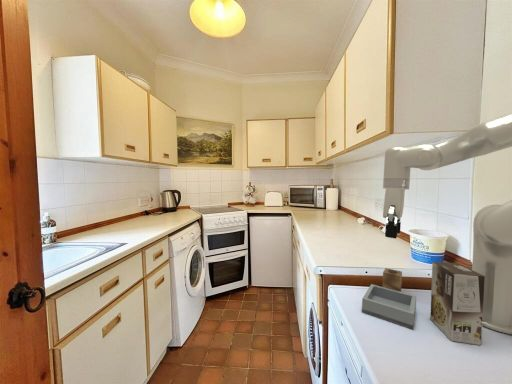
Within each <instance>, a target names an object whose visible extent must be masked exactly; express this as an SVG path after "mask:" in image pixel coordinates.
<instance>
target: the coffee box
mask: <svg viewBox="0 0 512 384" xmlns="http://www.w3.org/2000/svg"><path fill="white" fill-rule="evenodd" d="M431 263H432V267H431V271H432V272H431V290H430V291H431V293H430V294H431V295H430V297H431V298H430V318H429V319H430V321H432V323H433V324H434V325H435V326H436V327H437V328H438V329H440V330H439V331H440V332H442V333H443V334H444V335H445V336H446V337H447V338H448V339H449V340H450V341H451V342H458V343H464V344H471V345H477V346H481V345H482V335H483V333H482V331H483V326H482V316H483V300H484V282H485V276H483V275H481V274H479V273H477V272H475V271H473V270H472V268H469V267H467V266H465V265H462V264H460V263H455V262H439V261H438V262H437V261H432V262H431Z"/></svg>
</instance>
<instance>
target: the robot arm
mask: <svg viewBox="0 0 512 384" xmlns="http://www.w3.org/2000/svg"><path fill="white" fill-rule="evenodd" d="M509 148H512V112H509V113H507V114H504V115H500V116H498V117H495V118H493V119H492V118H491V119H489V120H486V121H484V122H481V123H479V124H477V125H476V126H473V127H472V128H470V129H469V130H468V131H466V132H464V133H463V134H460V135H458V136H456V137H455V138H452V139H449V140H447V141H445V142H442V143H438V144H435V145H434V144H431V143H423V144H418V145H413V146H412V145H411V146H394V147H389V148H387V149H386V150H385V152H384V164H383V165H384V166H383V180H382V181H383V182H382V183H383V184H382V189H385V191H384V192H385V193H384V200H383V208H382V211H383V212H382V218H383V219H386V221H385V222H386V224H385V232H384V233H385V235H384V236H385V238H390V239H397V238H398V234H400V233H401V228H402V227H401V223H402V221H401V218H402V217H403V213H404V207H405V206H404V205H405V192H406V190H410V181H411V169H412V168H414V169H419V170H421V171H432V170H437V169H439V168H444V167H447V166H450V165H453V164H457V163H460V162H463V161H466V160H469V159H473V158H478V157H481V156H485V155H489V154H491V153H494V152H497V151H498V152H499V151H502V150H505V149H509ZM472 222H473V223H472V225H473V226H472V227H473V231H472V232H473V245H472V264H471V265H472V266H471V270H473V271H475V272H477V273H479V274H481V275H483V276H485V282H484V300H483V316H482V327H485V328H488V329H490V330H493V331H496V332H500V333H504V334H508V335H512V199H510V200H509V201H507V202H505V203H502V204H492V205H491V204H490V205H487V206H484V207H482V208H481V209H479V210H478V211H477V212H476V213H475V215H474V218H473V221H472Z"/></svg>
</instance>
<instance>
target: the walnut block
mask: <svg viewBox="0 0 512 384" xmlns="http://www.w3.org/2000/svg"><path fill="white" fill-rule="evenodd" d="M402 282H403V270H402V271H401V270H397V269H391V268H387V267H385V268H384V270H383V272H382V286H381V287H384V288H388V289H392V290H396V291H399V292H402Z"/></svg>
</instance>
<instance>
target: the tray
mask: <svg viewBox="0 0 512 384" xmlns="http://www.w3.org/2000/svg"><path fill="white" fill-rule="evenodd" d="M416 309H417V295H414V294H410V293H406V292H403V291H401V292H399V291H396V290H392V289H388V288H384V287H382V286H380V285H377V284H372V283H371V284H370V286H369V287H368V288H367V290H366V292H365V293H364V295H363V296H362V301H361V313H362V314H366V315H370V316H372V317H375V318H378V319H380V320H383V321H386V322H390V323H392V324H394V325H395V324H396V325H398V326H401V327H404V328H406V329H409V330H412V331H414V325H415V317H416V311H415V310H416Z"/></svg>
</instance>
